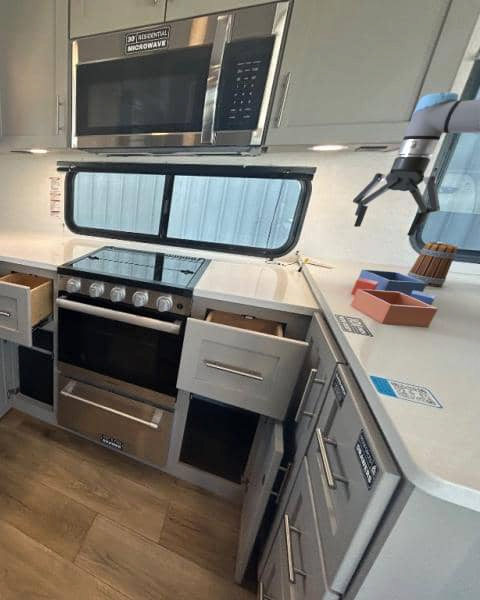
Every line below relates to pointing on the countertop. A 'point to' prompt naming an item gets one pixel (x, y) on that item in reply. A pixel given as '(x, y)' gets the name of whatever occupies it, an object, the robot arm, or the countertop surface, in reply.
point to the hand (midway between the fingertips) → (382, 230)
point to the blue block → (423, 297)
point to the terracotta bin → (393, 308)
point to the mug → (433, 263)
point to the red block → (364, 285)
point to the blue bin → (393, 281)
